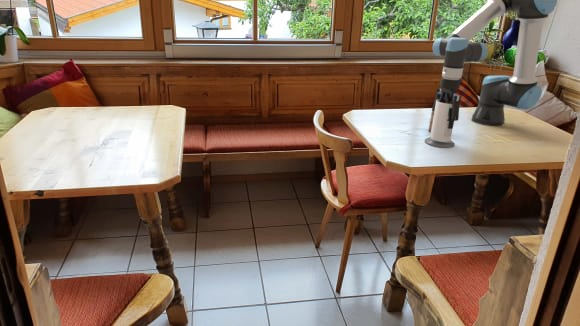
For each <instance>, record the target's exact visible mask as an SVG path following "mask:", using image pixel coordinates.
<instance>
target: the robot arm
mask: <svg viewBox="0 0 580 326" xmlns="http://www.w3.org/2000/svg"><path fill="white" fill-rule="evenodd" d="M557 2H558V0H486V1H485V4H484V5H483V6H481V7H480V8H479V9H477V11H475V13H473V14H472V15H471V16H470V17H468V18H467V19H466V20H465V21H464V22H462V24H460V25H459V26H458V27H457V28H456V29H454V30H453V31H452V32H451V33H450V34H449V35H448V36H446V37H445V38H444V37H439V38H437V39H435V41H434V42H433V44H432V52H433V54H434V55H435V56H438V57H441V58H444V60H443V66H442V67H443V68H442V73H441V76H442V77H441V79H440V83H439V86H440V88H436V92H435V98H434V100H433V101H434V102H433V104H432V108H431V112H432V111H435V105H436V100H438V99H439V102H441V103H446V104H452V108H450V107H449V112H448V120H447V122H446V127H445V133H444V136H451V137H452V134H453V128H454V124H455V121H459V117H460V116H459V115H460V102H461V98H462V96H461V95H458V93H457V91H458V90H459V89H460V87H461V79H462V77H463V73H464V65H465V63H477V62H482V61H484V60H485V59H486V58H487V56H488V54H489V52H488V51H489V50H488V46H487V45H486V44H485V43H484V42H477V41H475V42H471V40H472V39H474V37H475V36H477V35H478V34H479V33H480V32H481V31H483V29H485V28H487V26H488V25H489V24H490V23H492V22H493V21H494V20H495V19H496V18H499V17H502V16H503V15H504V14H506V13H510V12H514V13H517V14H516V15H517V16H516V18H517V20H518V21H519V22H520V23H519V30H518V37H517V47H516V52H515V60H514V65H513V66H514V67H513V68H514V69H513V73H512V74H513V75H512V76H510V75H487V76H485V77H483V81H482V84H481V89H480V95H479V99H478V105H477V106H476V109H475V110H474V112H473V114H472V115H471V121H472V122H474V123H477V124H480V125H485V126H491V127H492V126H494V127H495V126H496V127H499V126H500V127H501V126H503V124H505V121H506V119H505V111H504V108H505V106H508V107H512V108H515V109H518V110H523V111H524V110H525V111H528V110H531V109H532V108H534V107H535V106H536V105H537V103H538V102H539V101H540V99H541V97H542V94H543V92H542V91H543V89H542V86H540V85H538V78H537V77H536V75H535V74H536V70H537V69H536V68H537V63H538V56H539V50H540V43H541V37H542V30H543V24H544V21H545V20H547V19H548V18H549V14H551V13H552V12H553V11H554V10H555V8H556V7H557V4H558V3H557ZM451 101H452V102H451ZM451 133H452V134H451Z"/></svg>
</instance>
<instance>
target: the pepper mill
mask: <svg viewBox="0 0 580 326" xmlns="http://www.w3.org/2000/svg"><path fill="white" fill-rule="evenodd" d="M433 117H434V111H432V110H431V115H430V120H429V126H428V132H429V134H431V129H432V123H433Z"/></svg>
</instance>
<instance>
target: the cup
mask: <svg viewBox="0 0 580 326" xmlns="http://www.w3.org/2000/svg"><path fill="white" fill-rule="evenodd" d="M451 102H452V101H451ZM449 107H450V108H452V104H446V103H441V102H439V99H438V100H436V105H435V111H434V117H433V123H432V129H431V133H429V134H430V135H429V137H430V138H431V139H432V140H435V141H440V142H448V141H450V140H451V139H452V134H453V132H452V133H451V136H444V133H445V127H446V122H447V120H448V112H449ZM451 141H452V140H451Z"/></svg>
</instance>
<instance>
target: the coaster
mask: <svg viewBox="0 0 580 326" xmlns="http://www.w3.org/2000/svg"><path fill="white" fill-rule="evenodd" d="M424 143H425V144H427V145H428V146H430V147H431V146H432V147H434V148H439V149H440V148H441V149H442V148H443V149H450V148H453V147H454V146H455V144H456V143H455V142H454V141H452V140H450V141H448V142H440V141H435V140H432V139H431V138H430V136H429V137H427V138H425V139H424Z"/></svg>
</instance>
